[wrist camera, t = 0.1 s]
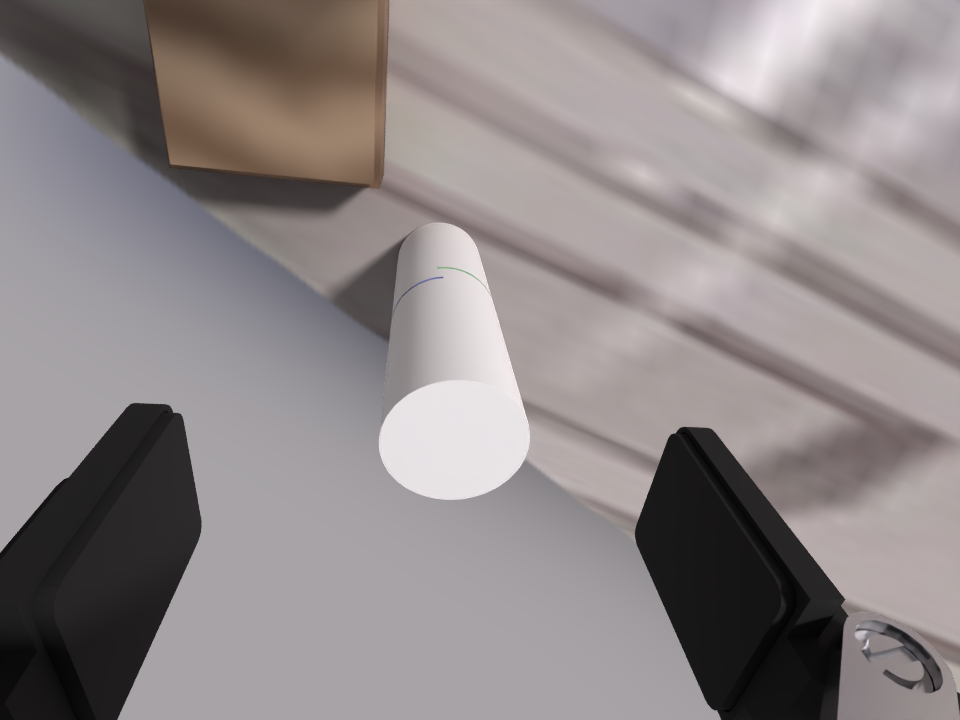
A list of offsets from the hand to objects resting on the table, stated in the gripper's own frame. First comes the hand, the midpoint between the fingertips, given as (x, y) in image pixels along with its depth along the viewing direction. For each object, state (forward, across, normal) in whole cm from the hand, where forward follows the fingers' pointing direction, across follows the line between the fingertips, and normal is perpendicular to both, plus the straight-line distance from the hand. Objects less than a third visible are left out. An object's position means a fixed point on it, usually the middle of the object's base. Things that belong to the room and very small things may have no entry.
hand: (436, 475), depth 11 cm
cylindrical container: (+37, -2, +8) cm, 38 cm away
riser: (+37, +10, -6) cm, 39 cm away
